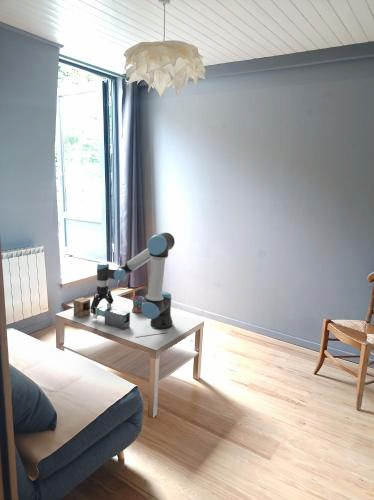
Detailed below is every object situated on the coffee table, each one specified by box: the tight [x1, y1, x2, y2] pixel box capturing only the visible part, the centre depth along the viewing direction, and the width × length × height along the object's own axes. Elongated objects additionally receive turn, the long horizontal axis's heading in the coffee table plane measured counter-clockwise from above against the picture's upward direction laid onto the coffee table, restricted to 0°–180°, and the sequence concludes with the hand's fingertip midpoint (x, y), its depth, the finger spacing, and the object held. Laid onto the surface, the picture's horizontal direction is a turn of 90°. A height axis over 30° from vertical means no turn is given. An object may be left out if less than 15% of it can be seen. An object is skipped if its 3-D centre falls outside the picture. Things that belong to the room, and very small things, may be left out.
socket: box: [73, 297, 91, 319], centre depth 263 cm, size 8×8×12 cm
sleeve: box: [104, 306, 131, 331], centre depth 247 cm, size 16×7×10 cm, turn 60°
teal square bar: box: [90, 305, 127, 321], centre depth 251 cm, size 28×6×6 cm, turn 60°
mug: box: [131, 295, 145, 314], centre depth 276 cm, size 12×9×11 cm
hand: (102, 315), depth 254 cm, fingers open, 13 cm apart
